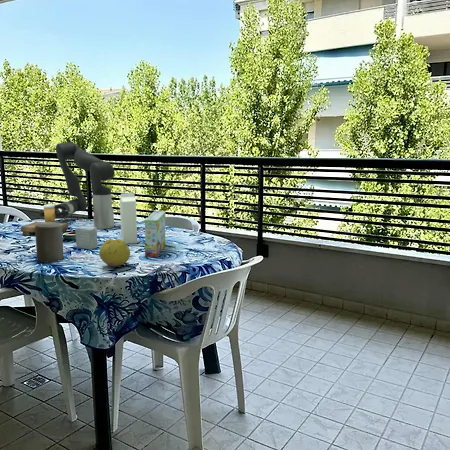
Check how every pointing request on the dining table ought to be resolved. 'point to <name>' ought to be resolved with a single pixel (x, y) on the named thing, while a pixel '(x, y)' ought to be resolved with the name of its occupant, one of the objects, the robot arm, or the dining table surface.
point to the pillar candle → (49, 241)
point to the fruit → (114, 252)
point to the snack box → (154, 233)
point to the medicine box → (86, 237)
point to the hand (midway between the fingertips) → (48, 214)
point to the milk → (128, 218)
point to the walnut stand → (30, 228)
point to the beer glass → (49, 212)
